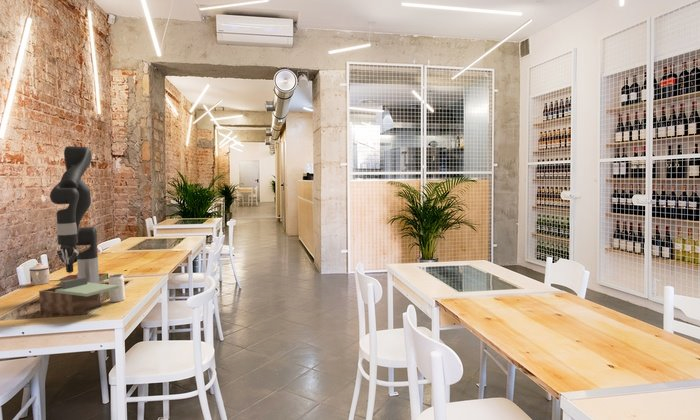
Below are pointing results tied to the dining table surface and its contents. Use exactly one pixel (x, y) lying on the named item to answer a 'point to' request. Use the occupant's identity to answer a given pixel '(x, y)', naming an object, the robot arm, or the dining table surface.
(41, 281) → the teacup with lid
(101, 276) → the hardcover book
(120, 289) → the can
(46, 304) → the chest
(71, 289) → the lid
